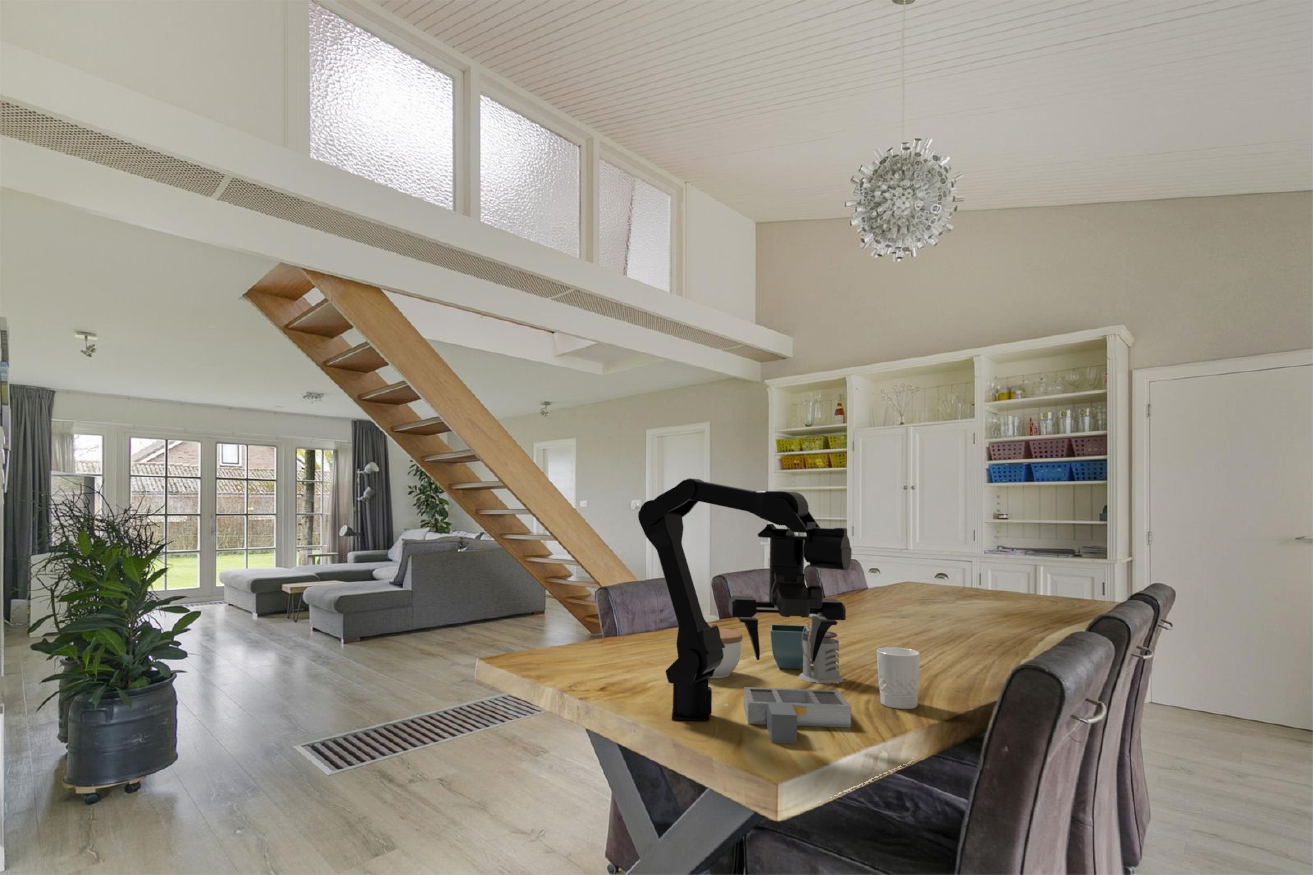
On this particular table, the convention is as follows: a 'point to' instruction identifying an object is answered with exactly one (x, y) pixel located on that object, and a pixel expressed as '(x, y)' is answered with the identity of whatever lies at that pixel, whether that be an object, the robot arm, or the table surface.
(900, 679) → the white cup
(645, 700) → the table surface
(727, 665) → the lidded bowl
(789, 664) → the flower pot
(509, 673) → the table surface
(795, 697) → the rack
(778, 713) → the grey upright box
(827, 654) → the french press
